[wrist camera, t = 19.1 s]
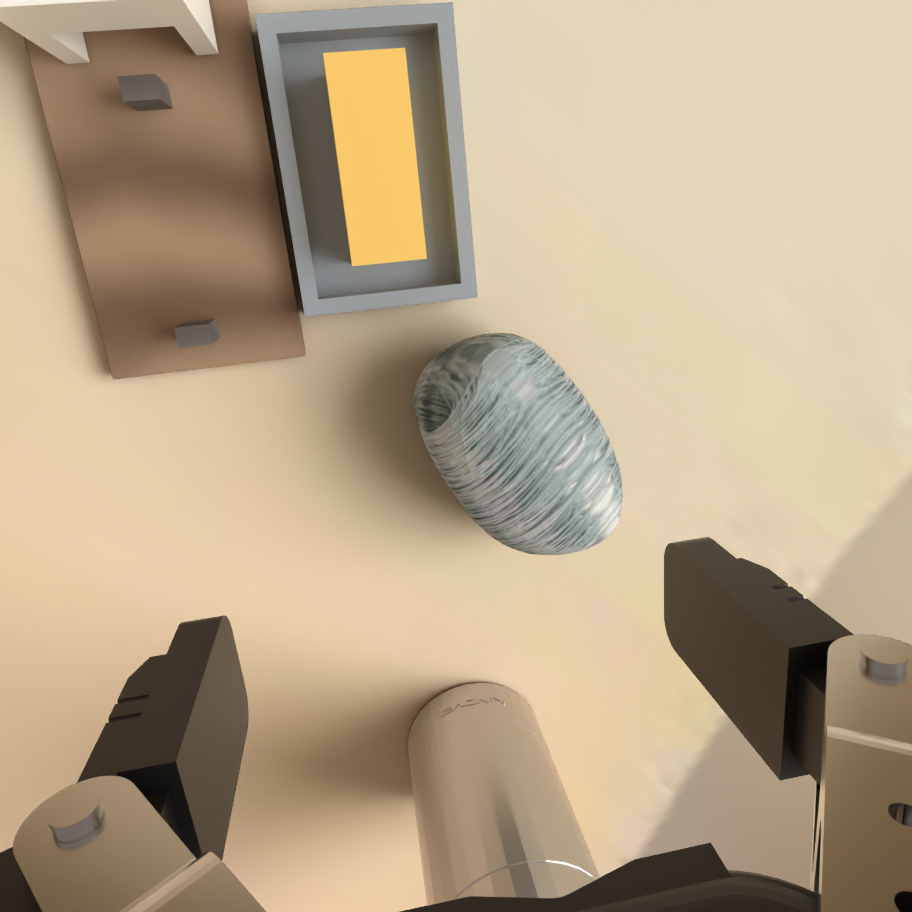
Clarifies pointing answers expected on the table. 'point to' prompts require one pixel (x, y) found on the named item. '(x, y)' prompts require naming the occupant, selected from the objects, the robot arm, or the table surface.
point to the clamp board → (173, 196)
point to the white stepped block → (105, 22)
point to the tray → (315, 162)
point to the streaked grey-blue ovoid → (519, 445)
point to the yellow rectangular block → (376, 154)
